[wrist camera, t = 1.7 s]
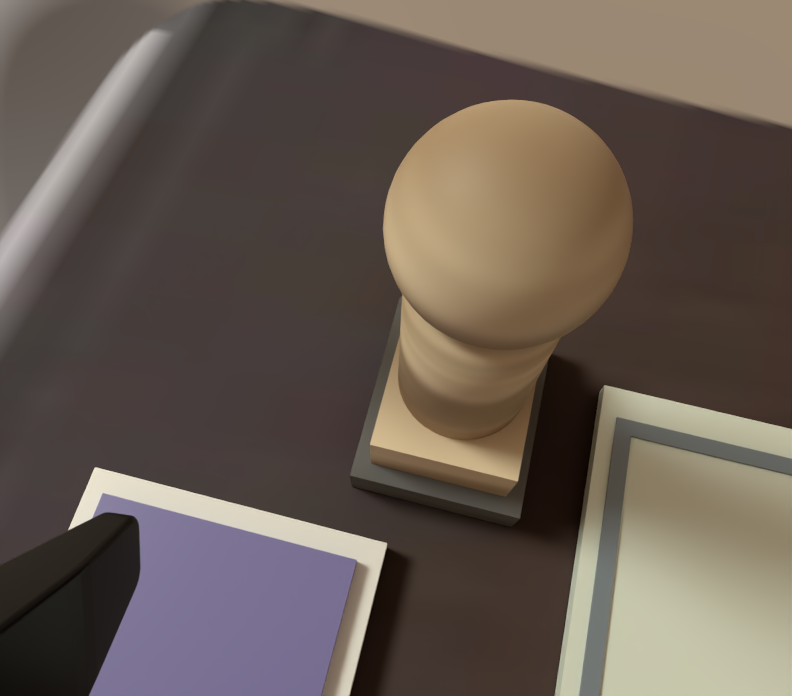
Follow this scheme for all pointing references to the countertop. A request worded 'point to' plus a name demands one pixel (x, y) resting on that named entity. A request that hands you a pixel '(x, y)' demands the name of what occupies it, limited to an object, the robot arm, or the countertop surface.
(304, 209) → the countertop surface
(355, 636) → the ink pad
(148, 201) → the countertop surface
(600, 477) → the marked board
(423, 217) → the hand stamp
